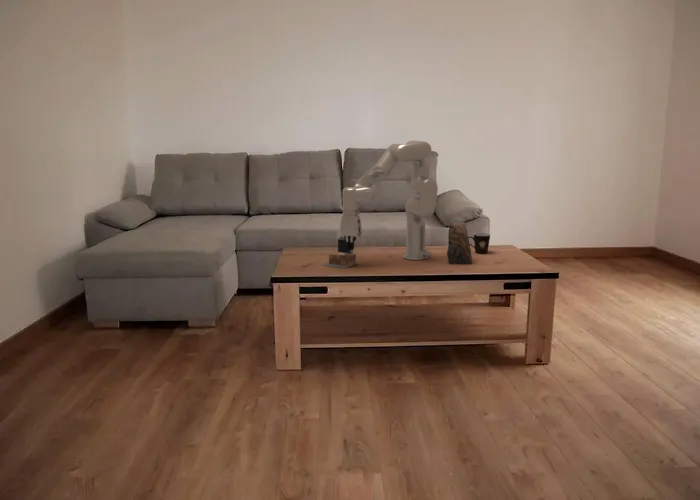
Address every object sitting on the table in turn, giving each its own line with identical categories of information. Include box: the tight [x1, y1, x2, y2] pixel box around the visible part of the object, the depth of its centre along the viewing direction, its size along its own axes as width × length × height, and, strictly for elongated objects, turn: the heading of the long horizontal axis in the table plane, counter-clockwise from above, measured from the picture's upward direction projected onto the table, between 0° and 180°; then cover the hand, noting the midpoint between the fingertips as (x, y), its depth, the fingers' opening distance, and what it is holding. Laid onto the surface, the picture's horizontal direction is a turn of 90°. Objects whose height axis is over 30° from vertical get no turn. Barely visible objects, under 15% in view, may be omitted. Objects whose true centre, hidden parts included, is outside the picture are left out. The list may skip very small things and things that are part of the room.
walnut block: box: [328, 251, 357, 268], centre depth 293 cm, size 5×6×12 cm
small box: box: [337, 236, 354, 254], centre depth 308 cm, size 11×6×10 cm, turn 168°
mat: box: [322, 261, 359, 269], centre depth 294 cm, size 13×13×1 cm
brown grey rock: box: [446, 221, 473, 265], centre depth 295 cm, size 13×13×20 cm
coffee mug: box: [468, 232, 491, 255], centre depth 316 cm, size 12×9×10 cm
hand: (350, 249), depth 289 cm, fingers closed
